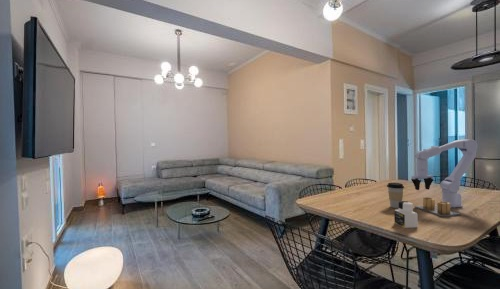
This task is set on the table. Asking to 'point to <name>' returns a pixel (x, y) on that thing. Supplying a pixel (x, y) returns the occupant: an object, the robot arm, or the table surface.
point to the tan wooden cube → (429, 203)
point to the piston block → (440, 209)
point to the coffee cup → (395, 194)
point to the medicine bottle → (406, 215)
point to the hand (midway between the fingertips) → (422, 189)
